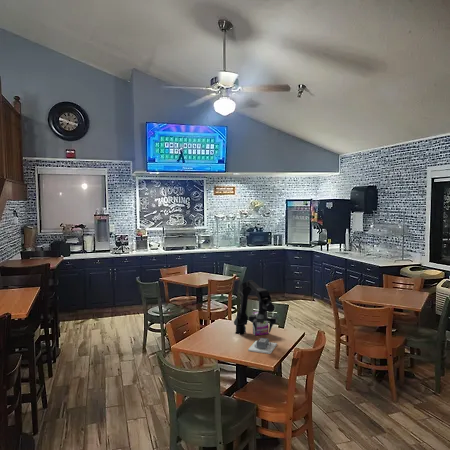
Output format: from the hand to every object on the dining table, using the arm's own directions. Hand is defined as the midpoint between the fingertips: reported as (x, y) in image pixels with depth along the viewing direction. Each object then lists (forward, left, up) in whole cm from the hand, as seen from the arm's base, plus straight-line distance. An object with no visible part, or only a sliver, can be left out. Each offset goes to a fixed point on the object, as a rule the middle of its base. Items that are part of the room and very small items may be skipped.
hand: (262, 331), depth 259 cm
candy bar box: (-9, +26, -11) cm, 30 cm away
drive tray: (0, 0, -11) cm, 11 cm away
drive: (0, 0, -10) cm, 10 cm away
